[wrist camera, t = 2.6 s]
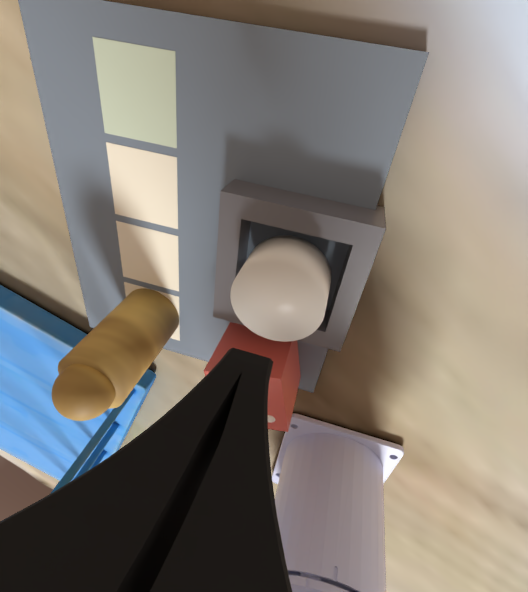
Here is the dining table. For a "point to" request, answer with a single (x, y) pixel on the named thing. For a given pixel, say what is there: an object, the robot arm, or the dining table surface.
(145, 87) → the board
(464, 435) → the dining table surface
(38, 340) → the file sorter
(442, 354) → the dining table surface
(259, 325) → the dome
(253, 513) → the robot arm
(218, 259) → the dome housing
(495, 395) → the dining table surface
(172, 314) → the tan rounded peg
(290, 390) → the die
